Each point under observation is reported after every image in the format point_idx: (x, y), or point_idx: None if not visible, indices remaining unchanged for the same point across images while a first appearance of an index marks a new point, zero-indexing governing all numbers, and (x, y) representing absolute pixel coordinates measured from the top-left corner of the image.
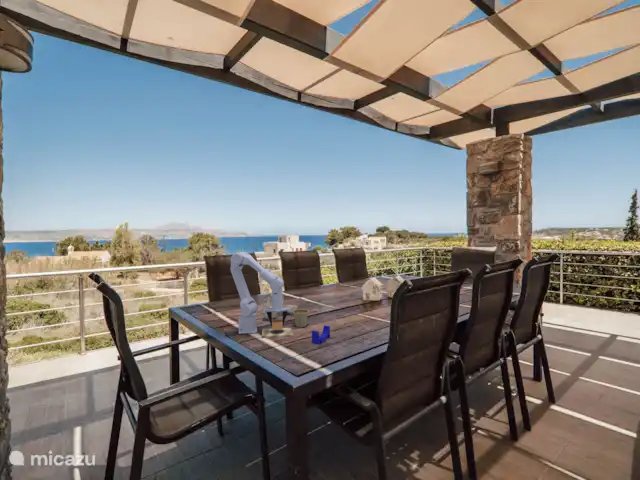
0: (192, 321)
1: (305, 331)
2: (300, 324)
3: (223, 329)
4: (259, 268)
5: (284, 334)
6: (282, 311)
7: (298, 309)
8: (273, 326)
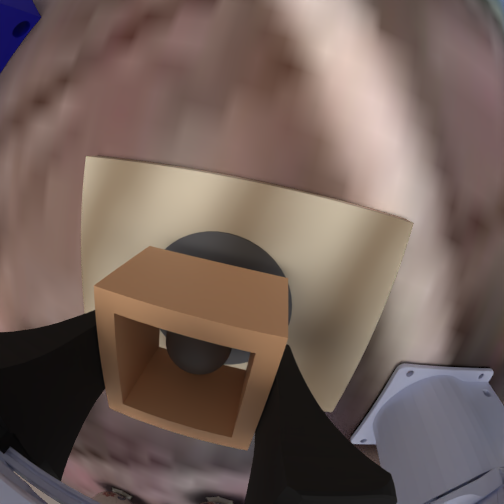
0: None
1: (18, 256)
2: None
3: None
4: None
5: (154, 187)
6: (11, 460)
7: None
8: (263, 297)
